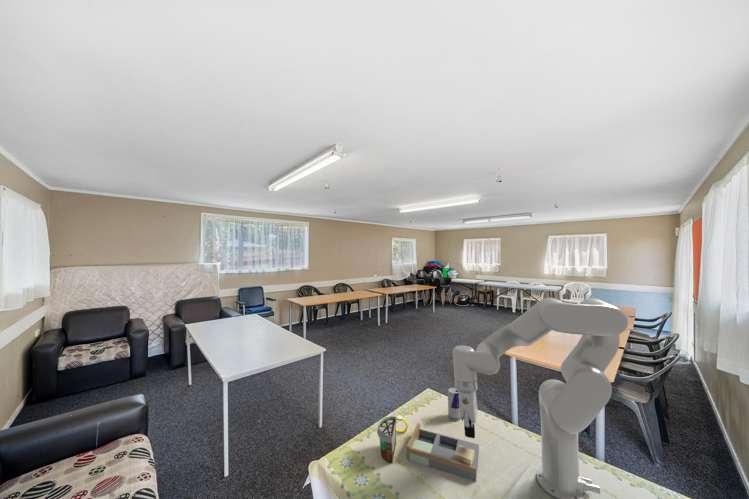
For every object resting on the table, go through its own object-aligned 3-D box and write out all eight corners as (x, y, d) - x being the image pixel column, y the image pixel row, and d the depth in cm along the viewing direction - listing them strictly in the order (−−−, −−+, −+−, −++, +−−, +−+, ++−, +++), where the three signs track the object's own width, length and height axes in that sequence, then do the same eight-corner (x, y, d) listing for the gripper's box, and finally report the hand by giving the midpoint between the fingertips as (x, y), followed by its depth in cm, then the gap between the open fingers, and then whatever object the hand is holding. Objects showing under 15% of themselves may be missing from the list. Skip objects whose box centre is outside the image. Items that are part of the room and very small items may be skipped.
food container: (380, 439, 104) (380, 414, 104) (396, 441, 103) (395, 415, 103) (374, 464, 92) (374, 435, 92) (392, 466, 91) (391, 437, 91)
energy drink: (461, 422, 114) (461, 394, 114) (448, 420, 115) (448, 392, 115) (460, 414, 119) (459, 387, 119) (447, 413, 120) (447, 386, 120)
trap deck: (478, 451, 97) (478, 438, 97) (476, 481, 84) (475, 467, 84) (417, 434, 107) (417, 423, 107) (406, 459, 94) (406, 446, 94)
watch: (393, 433, 108) (391, 418, 108) (394, 428, 111) (393, 414, 111) (407, 434, 106) (406, 419, 107) (408, 430, 109) (407, 415, 109)
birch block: (474, 459, 90) (474, 450, 90) (471, 469, 86) (471, 460, 86) (459, 453, 93) (459, 444, 93) (455, 463, 89) (455, 454, 89)
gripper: (475, 395, 85) (480, 453, 84) (478, 375, 98) (482, 425, 97) (451, 391, 88) (456, 448, 87) (457, 372, 101) (461, 421, 101)
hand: (470, 436), depth 92 cm, fingers closed
